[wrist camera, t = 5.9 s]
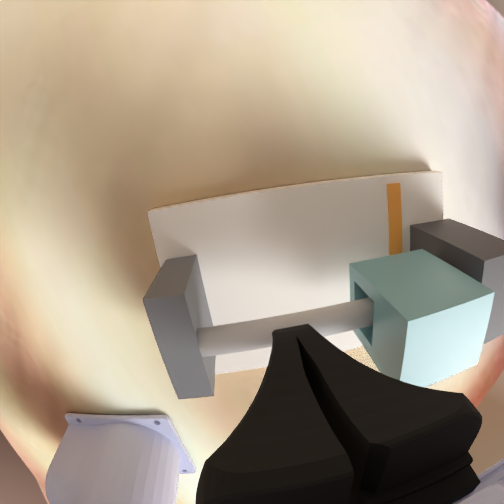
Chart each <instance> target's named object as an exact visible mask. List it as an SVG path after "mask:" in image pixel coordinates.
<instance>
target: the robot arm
mask: <svg viewBox="0 0 504 504" xmlns="http://www.w3.org/2000/svg"><path fill="white" fill-rule="evenodd" d="M272 338H273V341H272V349H271V354H270V359H269V363H268V367H267V370H266V372H265V375H264V378H263V381H262V383H261V386H260V388H259V390H258V392H257V395H256V397H255V399H254V400H253V402H252V404H251V406H250V407H249V409H248V411H247V413H246V414H245V416H244V417H243V419H242V420H241V422H240V423H239V424H238V426H237V427H236V428H235V429H234V431H233V432H232V433H231V435H230V436H229V437H228V438H227V440H226V441H225V442H224V443H223V444H222V445H221V446H220V447H219V448H218V449H217V450H216V451H215V452H214V453H213V454H212V455H211V456H210V457H209V458H208V459H207V460H206V461H205V463H204V466H203V469H202V472H201V475H200V479H199V482H198V487H197V492H196V504H504V458H503V459H502V460H500V461H499V462H497V463H496V464H495V465H493V466H491V467H490V468H488V469H487V470H486V471H484V472H482V473H481V474H479V475H476V473H475V472H474V470H473V469H472V467H471V466H470V464H471V463H472V461H473V459H472V457H471V455H470V454H469V452H468V450H469V449H470V447H471V445H472V443H473V442H474V440H475V438H476V436H477V434H478V432H479V430H480V427H481V424H482V416H481V414H480V413H479V412H478V410H477V409H476V408H475V406H474V405H473V404H472V403H471V402H470V401H469V399H468V398H467V397H466V396H465V395H464V394H463V393H455V392H447V391H440V390H433V389H429V388H424V387H420V386H416V385H413V384H409V383H406V382H403V381H400V380H397V379H394V378H392V377H389V376H386V375H384V374H382V373H379V372H377V371H375V370H373V369H371V368H369V367H367V366H365V365H363V364H362V363H360V362H358V361H356V360H355V359H353V358H352V357H350V356H349V355H347V354H346V353H344V352H343V351H341V350H340V349H339V348H337V347H336V346H335V345H333V344H332V343H331V342H329V341H328V340H327V339H326V338H325V337H323V336H322V335H321V334H320V333H319V332H317V331H316V330H315V329H314V328H313V327H312V326H311V325H309V324H303V325H298V326H293V327H287V328H282V329H276V330H274V331H273V332H272ZM65 419H66V421H67V422H68V424H69V425H68V427H67V429H66V431H65V433H64V435H63V438H62V440H61V442H60V444H59V446H58V449H57V451H56V453H55V455H54V458H53V460H52V462H51V464H50V467H49V469H48V472H47V476H46V494H47V498H48V501H49V503H50V504H176V500H177V490H178V480H179V474H185V473H195V472H196V467H195V465H194V464H193V462H192V460H191V458H190V456H189V455H188V453H187V451H186V449H185V447H184V445H183V443H182V441H181V440H180V438H179V436H178V434H177V432H176V430H175V428H174V426H173V424H172V422H171V420H170V418H169V417H168V416H166V415H91V414H75V413H66V415H65Z"/></svg>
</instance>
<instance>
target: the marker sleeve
mask: <svg viewBox="0 0 504 504" xmlns="http://www.w3.org/2000/svg"><path fill="white" fill-rule="evenodd" d="M349 275H350V301H354V300H359V299H363V298H368V297H370V298H371V299H372V300H373V301H374V316H373V325H372V326H368V327H364V328H360V329H355V330H353V331H354V333H355V334H356V336H357V337H358V339H359V340H360V342H361V343H362V345H363V346H364V348H365V349H366V351H367V352H368V354H369V355H370V357H371V358H372V360H373V361H374V363H375V365H376V366H377V368H378V369H379V371H380V372H381V373H382V374H384V375H386V376H389V377H392V378H394V379H397V380H400V381H403V382H406V383H409V384H413V385H416V386H420V387H427V386H429V385H432V384H434V383H437V382H439V381H441V380H444V379H446V378H448V377H451V376H453V375H455V374H457V373H460V372H462V371H464V370H466V369H468V368H470V367H472V366H474V365H476V364H477V363H478V360H479V357H480V353H481V350H482V346H483V343H484V339H485V335H486V331H487V327H488V322H489V318H490V313H491V309H492V304H493V299H494V293H495V292H494V291H492V290H491V289H489V288H488V287H486V286H485V285H483V284H481V283H480V282H478V281H476V280H475V279H473V278H472V277H470V276H468V275H467V274H465V273H463V272H462V271H460V270H458V269H457V268H455V267H453V266H452V265H450V264H448V263H446V262H445V261H443V260H441V259H439V258H438V257H436V256H434V255H432V254H431V253H429V252H427V251H425V250H423V249H419V250H414V251H410V252H405V253H400V254H395V255H390V256H385V257H380V258H374V259H369V260H364V261H359V262H354V263H349Z"/></svg>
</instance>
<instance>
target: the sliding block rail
mask: <svg viewBox="0 0 504 504" xmlns="http://www.w3.org/2000/svg"><path fill="white" fill-rule="evenodd" d="M147 214H148V218H149V223H150V227H151V232H152V236H153V240H154V245H155V249H156V253H157V257H158V261H159V265H160V271H159V272H158V274H157V276H156V277H155V279H154V281H153V283H152V284H151V286H150V288H149V290H148V291H147V293H146V295H145V297H144V298H143V303H144V306H145V309H146V312H147V315H148V318H149V321H150V324H151V327H152V330H153V333H154V336H155V339H156V342H157V345H158V347H159V350H160V353H161V356H162V358H163V361H164V364H165V366H166V369H167V372H168V374H169V377H170V379H171V382H172V384H173V387H174V389H175V392H176V394H177V397H178V399H188V398H199V397H209V396H214V381H215V374H223V373H231V372H238V371H245V370H251V369H257V368H264V367H268V363H269V359H270V354H271V349H272V341H273V338H272V332H273V331H274V330H276V329H282V328H287V327H293V326H298V325H303V324H309V325H311V326H312V327H313V328H314V329H315V330H316V331H317V332H319V333H320V334H321V335H322V336H323V337H325V338H326V339H327V340H328V341H329V342H331V343H332V344H333V345H335V346H336V347H337V348H339V349H340V350H341V351H347V350H351V349H355V348H359V347H363V345H362V343H361V342H360V340H359V339H358V337H357V336H356V334H355V333H354V331H353V330H355V329H360V328H364V327H368V326H372V325H373V316H374V301H373V300H372V299H371V298H370V297H368V298H363V299H359V300H354V301H350V275H349V263H354V262H359V261H364V260H369V259H374V258H380V257H385V256H390V255H395V254H400V253H405V252H410V251H414V250H419V249H423V250H425V251H427V252H429V253H431V254H432V255H434V256H436V257H438V258H439V259H441V260H443V261H445V262H446V263H448V264H450V265H452V266H453V267H455V268H457V269H458V270H460V271H462V272H463V273H465V274H467V275H468V276H470V277H472V278H473V279H475V280H476V281H478V282H480V283H481V284H483V285H485V286H486V287H488V288H489V289H491V290H492V291H494V292H495V293H494V299H493V304H492V309H491V313H490V318H489V322H488V327H487V331H486V335H485V339H484V343H483V344H485V343H487V342H489V341H491V340H493V339H495V338H497V337H499V336H501V335H503V334H504V240H502V239H500V238H497V237H495V236H493V235H490V234H488V233H485V232H483V231H480V230H478V229H475V228H472V227H470V226H467V225H465V224H462V223H459V222H457V221H454V220H451V219H444V220H443V186H442V172H438V171H419V172H406V173H394V174H383V175H372V176H362V177H353V178H344V179H335V180H327V181H318V182H311V183H303V184H295V185H288V186H281V187H274V188H267V189H261V190H254V191H248V192H242V193H236V194H230V195H224V196H218V197H212V198H207V199H201V200H196V201H190V202H185V203H180V204H174V205H169V206H164V207H159V208H154V209H151V210H150V211H148V212H147Z"/></svg>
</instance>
